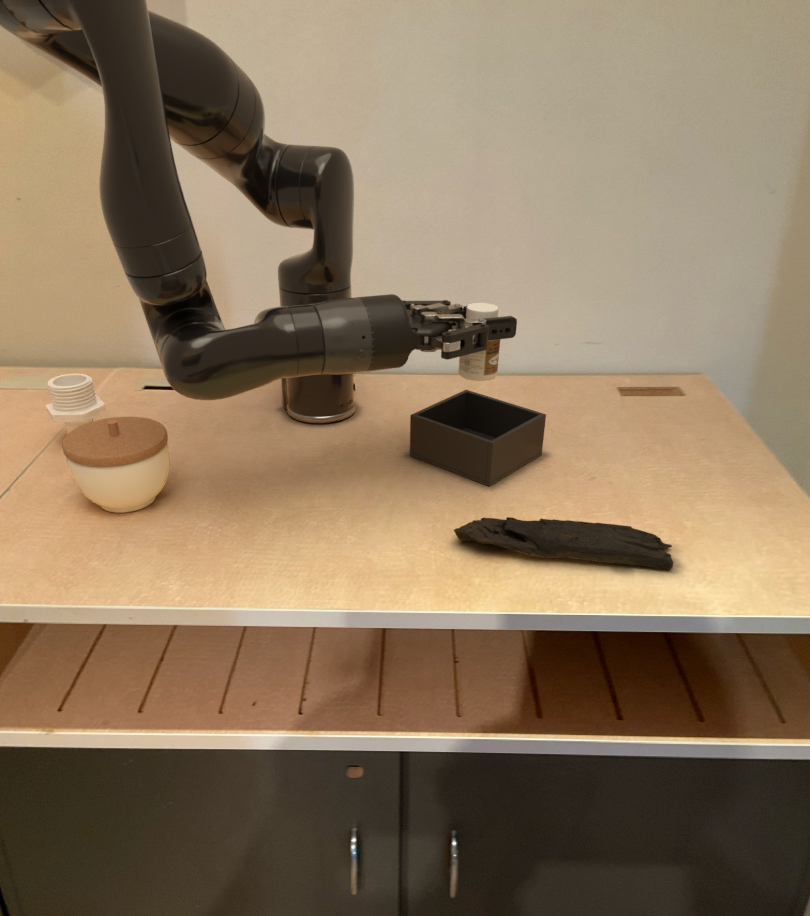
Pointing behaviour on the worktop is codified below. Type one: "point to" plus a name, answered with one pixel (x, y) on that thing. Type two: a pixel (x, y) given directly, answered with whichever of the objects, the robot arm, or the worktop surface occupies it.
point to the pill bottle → (482, 362)
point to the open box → (477, 436)
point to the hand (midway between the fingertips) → (503, 320)
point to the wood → (571, 540)
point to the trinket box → (119, 461)
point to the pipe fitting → (73, 400)
